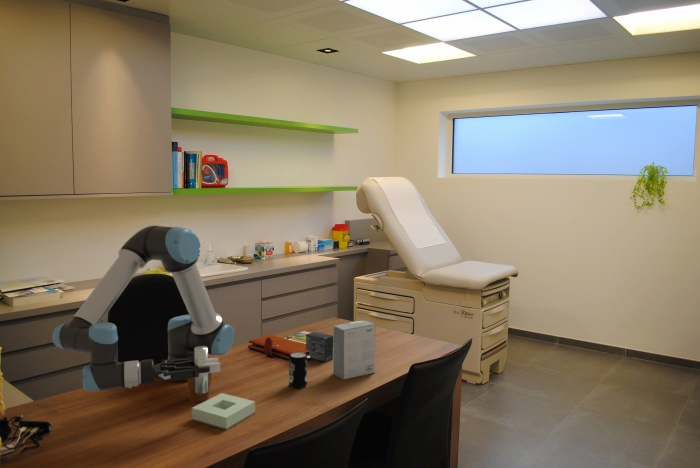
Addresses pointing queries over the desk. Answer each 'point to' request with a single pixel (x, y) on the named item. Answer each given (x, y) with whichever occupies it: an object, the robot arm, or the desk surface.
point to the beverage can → (298, 370)
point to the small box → (319, 346)
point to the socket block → (223, 411)
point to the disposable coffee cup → (195, 396)
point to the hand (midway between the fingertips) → (219, 364)
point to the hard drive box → (353, 349)
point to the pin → (202, 380)
